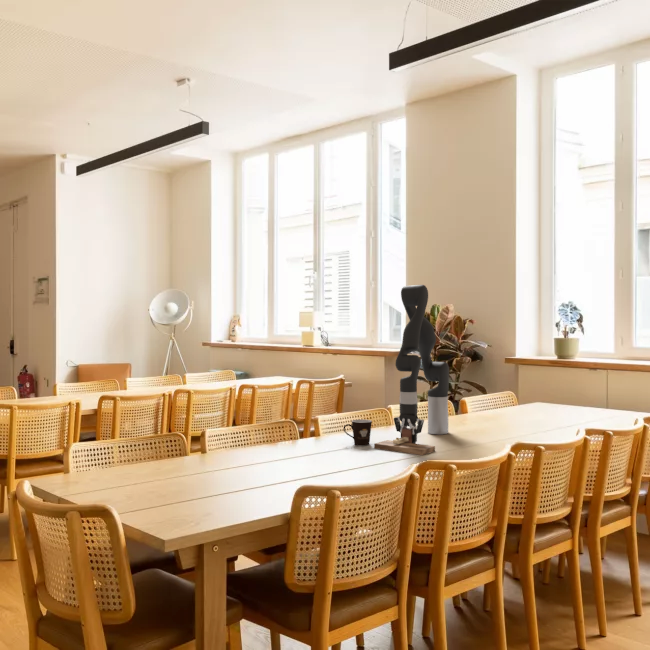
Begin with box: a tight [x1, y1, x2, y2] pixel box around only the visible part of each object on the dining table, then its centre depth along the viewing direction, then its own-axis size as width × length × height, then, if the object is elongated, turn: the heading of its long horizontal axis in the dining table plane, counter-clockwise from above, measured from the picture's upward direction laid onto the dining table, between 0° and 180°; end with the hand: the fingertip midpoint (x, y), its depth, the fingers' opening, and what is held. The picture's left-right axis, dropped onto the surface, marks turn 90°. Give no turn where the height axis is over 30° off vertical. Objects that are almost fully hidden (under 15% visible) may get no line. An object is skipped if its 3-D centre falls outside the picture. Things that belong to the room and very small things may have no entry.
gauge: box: [392, 427, 417, 444], centre depth 298 cm, size 12×4×7 cm, turn 142°
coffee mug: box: [343, 419, 373, 447], centre depth 307 cm, size 12×9×10 cm
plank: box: [373, 439, 436, 456], centre depth 294 cm, size 10×23×2 cm, turn 52°
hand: (408, 442), depth 302 cm, fingers closed on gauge, 4 cm apart
